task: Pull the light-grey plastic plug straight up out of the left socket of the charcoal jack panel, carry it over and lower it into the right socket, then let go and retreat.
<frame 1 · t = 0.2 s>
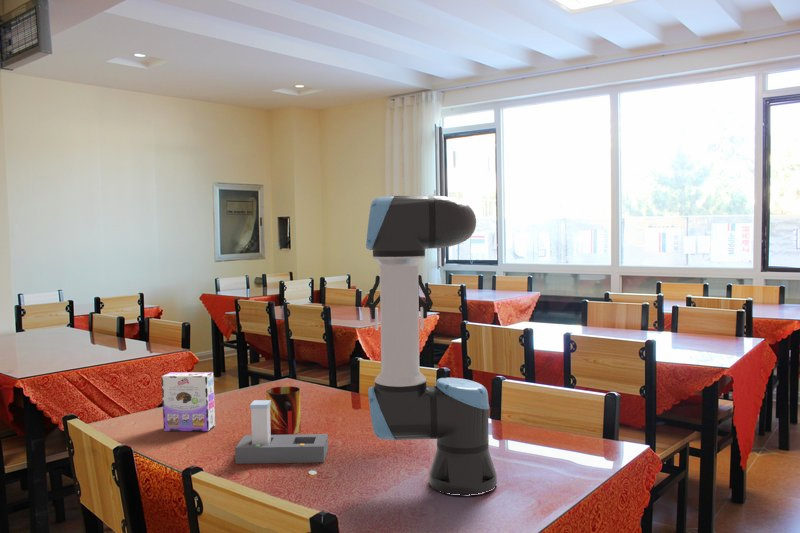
hand: (399, 329, 191), 28 cm above the table, fingers open, 13 cm apart
plug: (261, 456, 163), resting in jack panel
mug: (288, 433, 183), on the table
jack panel: (283, 456, 163), on the table
candy box: (189, 429, 188), on the table
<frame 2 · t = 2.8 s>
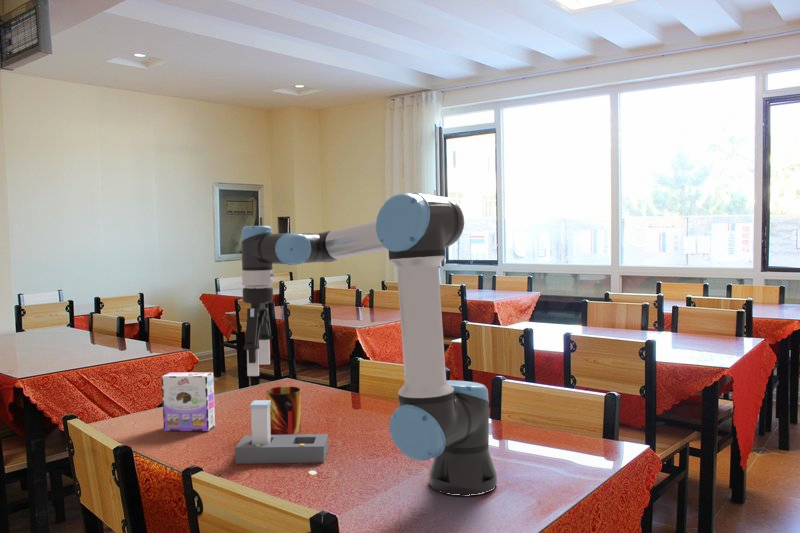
hand: (259, 369, 162), 22 cm above the table, fingers open, 13 cm apart
nothing on the table moved.
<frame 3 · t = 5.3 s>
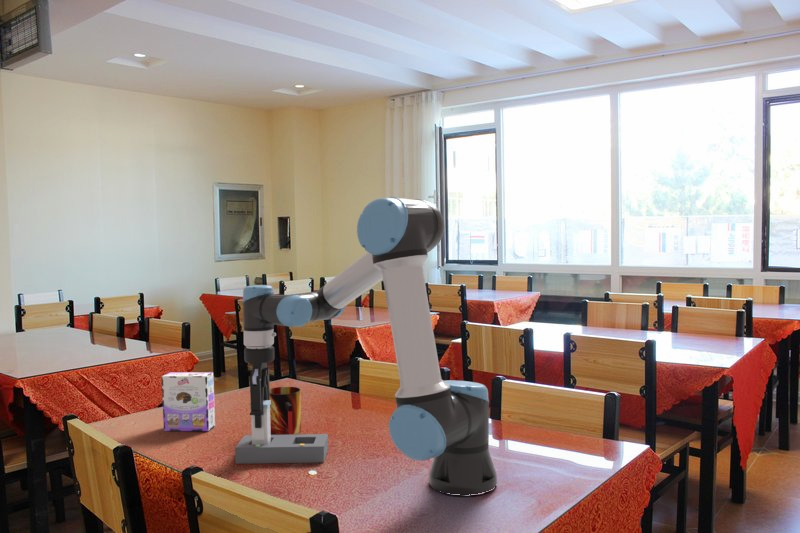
hand: (261, 436, 163), 5 cm above the table, fingers closed on plug, 4 cm apart
plug: (261, 456, 163), resting in jack panel, touching gripper
everything else where it was.
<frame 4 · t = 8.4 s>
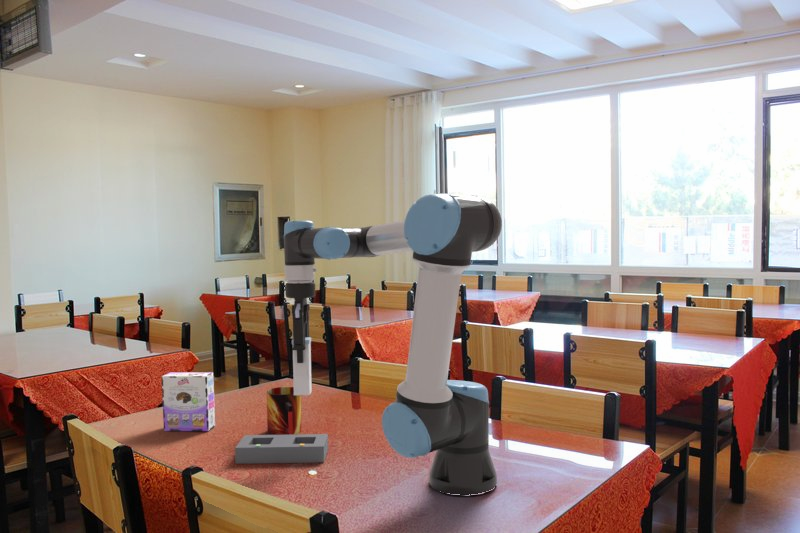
hand: (302, 373, 162), 21 cm above the table, fingers closed on plug, 4 cm apart
plug: (302, 393, 162), point 16 cm above the table, touching gripper
everything else where it was.
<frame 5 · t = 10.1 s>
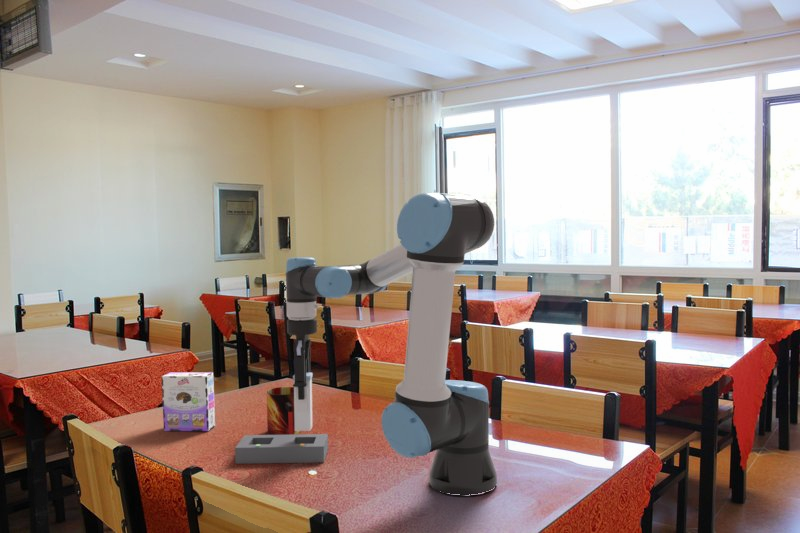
hand: (303, 408, 163), 12 cm above the table, fingers closed on plug, 4 cm apart
plug: (303, 428, 163), point 7 cm above the table, touching gripper
everything else where it was.
when the fingers open (8 cm above the table, at t = 11.6 s): plug drops 2 cm, resting in jack panel.
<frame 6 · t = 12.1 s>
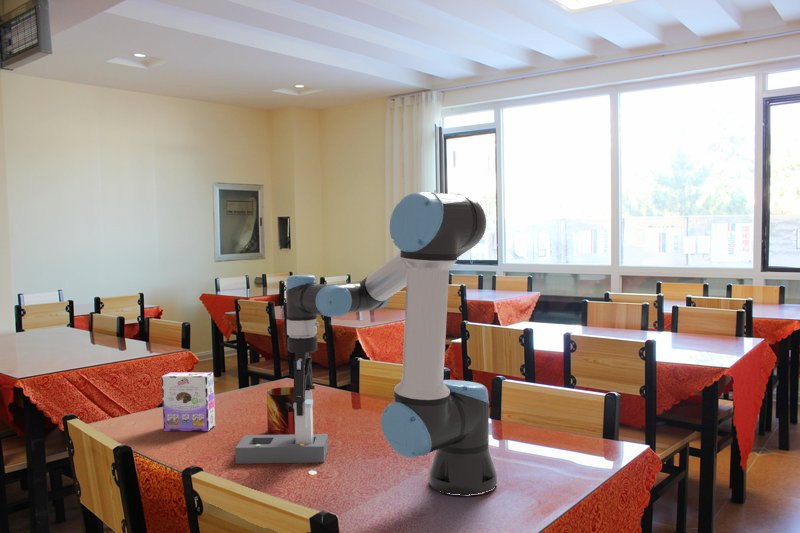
hand: (304, 421, 163), 9 cm above the table, fingers open, 11 cm apart
plug: (305, 455, 163), resting in jack panel
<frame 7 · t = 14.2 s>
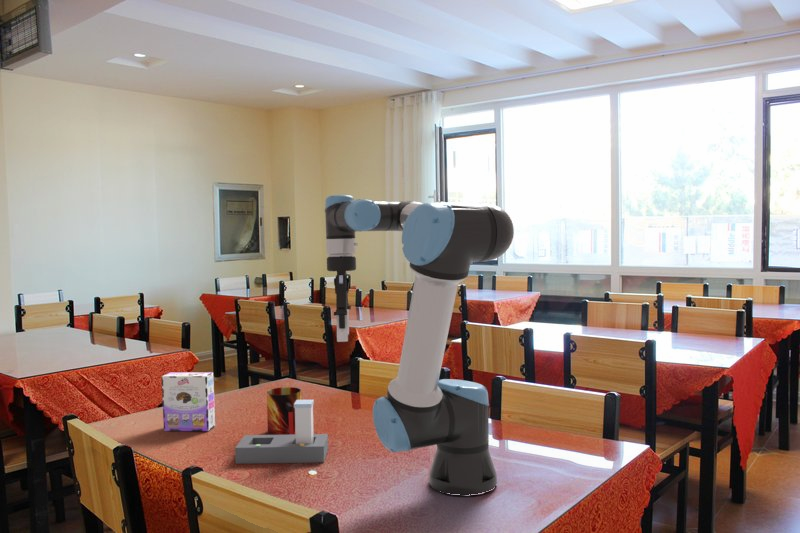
hand: (343, 337, 165), 30 cm above the table, fingers open, 13 cm apart
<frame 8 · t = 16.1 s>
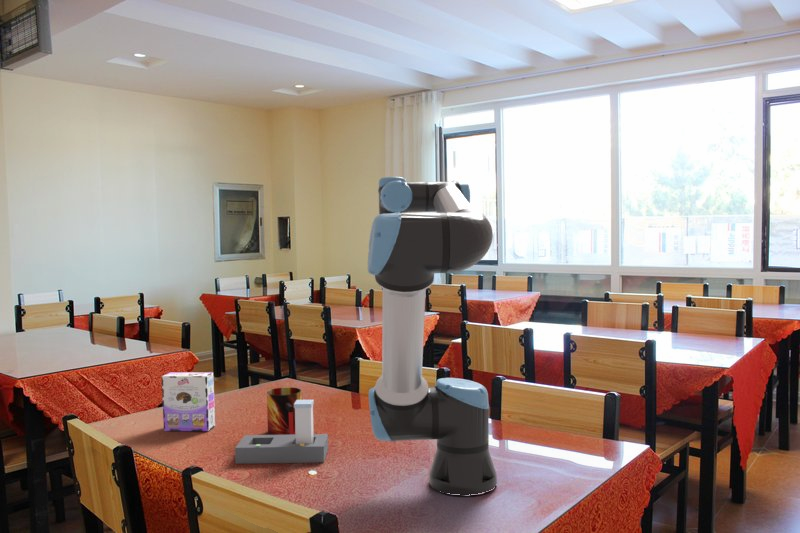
hand: (394, 315, 170), 35 cm above the table, fingers open, 13 cm apart
at the end: plug 0.1 cm from the target spot on the jack panel, point 0.0 cm above the jack panel's base; plug tilted 0°; the gripper is holding nothing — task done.
